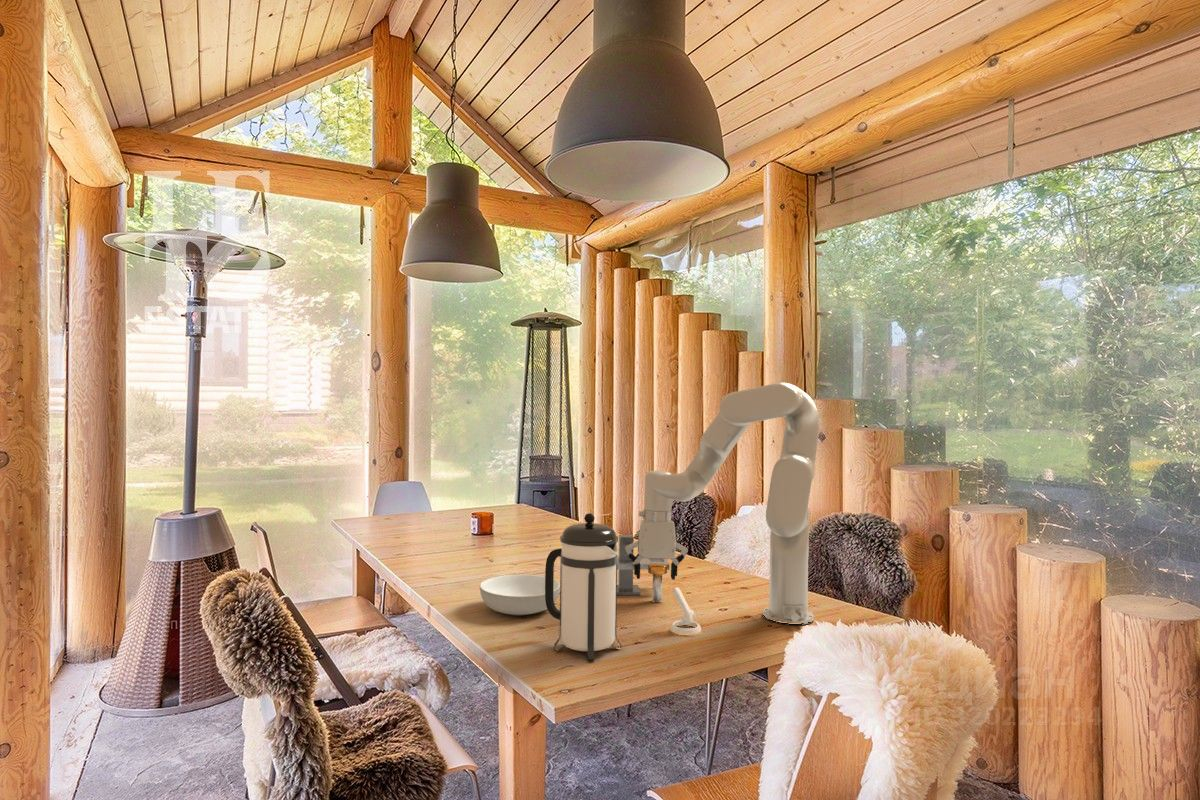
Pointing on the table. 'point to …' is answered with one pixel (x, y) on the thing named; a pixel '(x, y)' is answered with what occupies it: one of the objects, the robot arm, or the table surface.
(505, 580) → the serving bowl
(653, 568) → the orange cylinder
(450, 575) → the table surface
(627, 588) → the grey cross bracket
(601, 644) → the coffee press
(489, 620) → the table surface
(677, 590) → the white ring with handle
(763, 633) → the table surface
